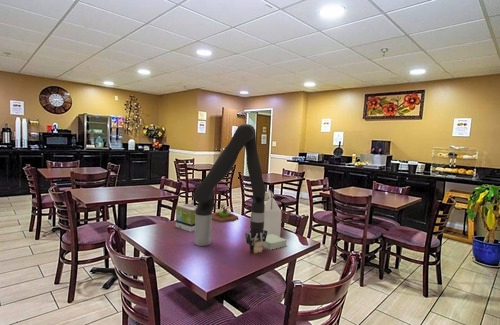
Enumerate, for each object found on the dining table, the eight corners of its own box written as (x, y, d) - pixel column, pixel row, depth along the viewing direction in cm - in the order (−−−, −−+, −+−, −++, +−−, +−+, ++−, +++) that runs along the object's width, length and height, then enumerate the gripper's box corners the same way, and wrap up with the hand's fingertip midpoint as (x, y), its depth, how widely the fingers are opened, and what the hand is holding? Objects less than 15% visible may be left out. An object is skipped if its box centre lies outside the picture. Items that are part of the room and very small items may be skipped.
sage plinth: (257, 243, 170) (257, 237, 170) (272, 240, 177) (272, 233, 177) (270, 250, 160) (270, 243, 160) (286, 246, 167) (286, 239, 167)
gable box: (280, 238, 181) (282, 194, 179) (259, 238, 180) (261, 193, 178) (274, 228, 203) (277, 188, 201) (256, 227, 202) (258, 187, 200)
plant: (205, 218, 220) (206, 203, 219) (225, 214, 233) (226, 201, 232) (220, 224, 205) (221, 209, 205) (241, 220, 218) (242, 206, 218)
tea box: (174, 227, 192) (175, 205, 191) (186, 224, 200) (187, 203, 199) (190, 232, 184) (191, 209, 183) (201, 229, 192) (202, 207, 191)
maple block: (249, 250, 158) (249, 240, 158) (256, 249, 161) (257, 238, 161) (254, 253, 154) (255, 242, 154) (262, 252, 157) (262, 241, 157)
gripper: (263, 216, 164) (261, 245, 165) (242, 219, 155) (241, 250, 157) (271, 220, 158) (270, 250, 159) (251, 223, 149) (249, 255, 151)
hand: (255, 250), depth 158 cm, fingers closed on maple block, 5 cm apart
